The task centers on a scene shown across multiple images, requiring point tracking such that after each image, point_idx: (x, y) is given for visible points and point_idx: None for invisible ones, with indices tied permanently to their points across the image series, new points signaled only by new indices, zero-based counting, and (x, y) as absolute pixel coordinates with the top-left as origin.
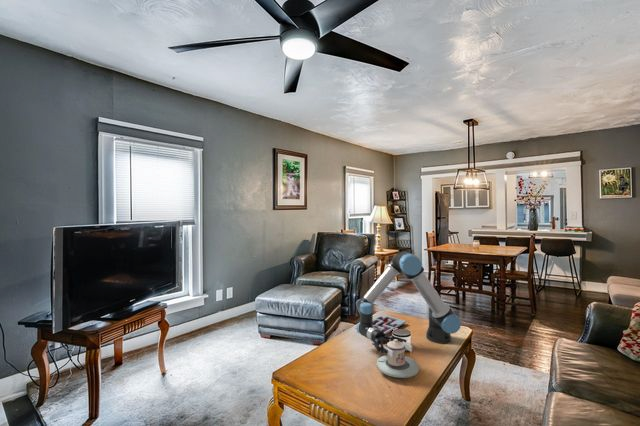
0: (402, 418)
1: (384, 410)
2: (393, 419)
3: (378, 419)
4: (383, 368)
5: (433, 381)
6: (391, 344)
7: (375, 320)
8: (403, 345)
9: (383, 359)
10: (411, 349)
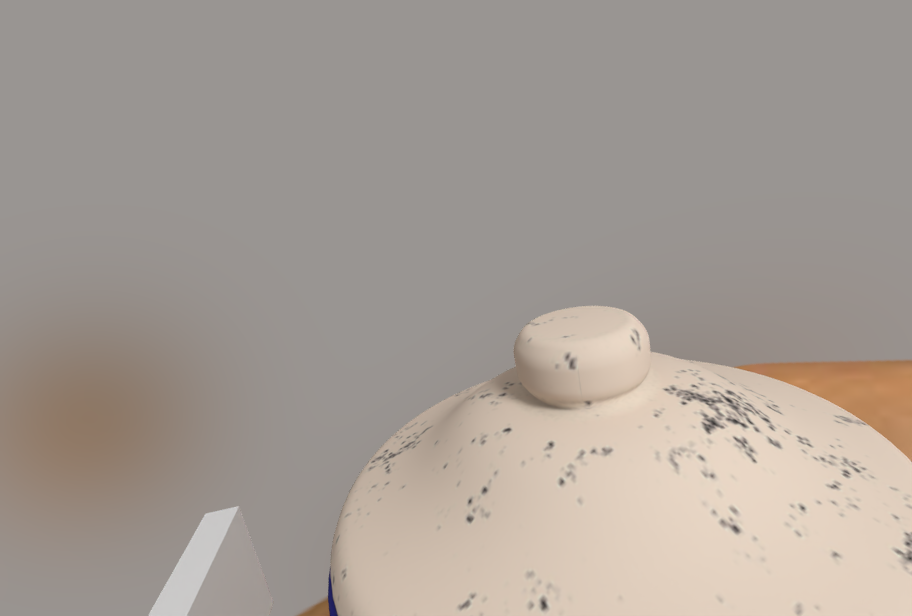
0: (750, 369)
1: (872, 401)
2: (806, 365)
3: (908, 363)
4: None
5: (316, 606)
6: (760, 394)
7: None
8: (435, 408)
9: None
10: (248, 565)
